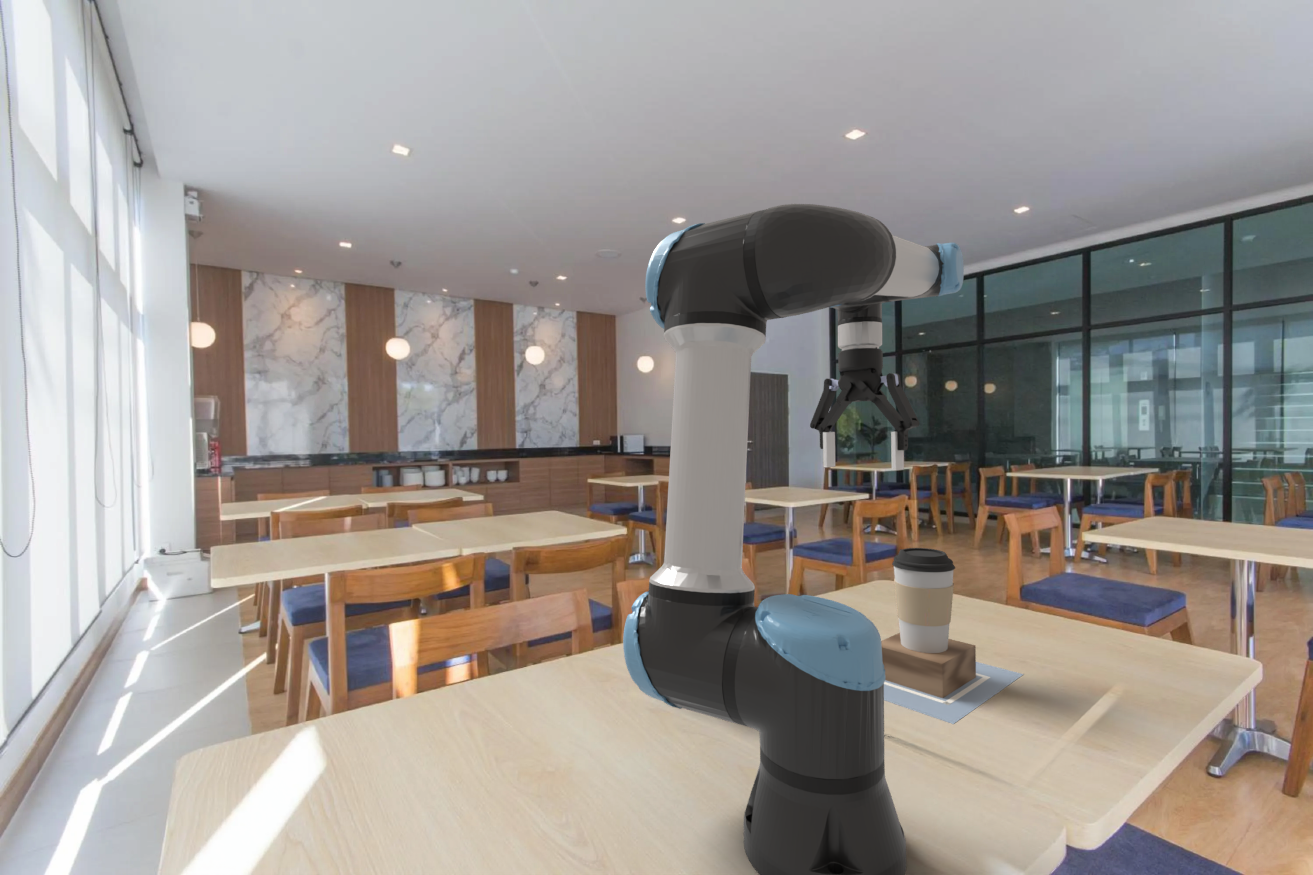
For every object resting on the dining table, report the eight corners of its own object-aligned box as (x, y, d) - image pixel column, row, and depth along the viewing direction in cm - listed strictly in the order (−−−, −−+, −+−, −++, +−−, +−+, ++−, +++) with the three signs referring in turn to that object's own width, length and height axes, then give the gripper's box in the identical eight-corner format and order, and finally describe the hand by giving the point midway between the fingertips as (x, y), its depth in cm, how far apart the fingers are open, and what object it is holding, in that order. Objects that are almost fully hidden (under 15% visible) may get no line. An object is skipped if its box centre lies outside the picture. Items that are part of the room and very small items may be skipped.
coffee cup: (944, 635, 102) (943, 543, 102) (965, 656, 93) (964, 555, 93) (886, 634, 103) (885, 543, 103) (902, 655, 94) (901, 555, 94)
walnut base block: (942, 698, 91) (942, 663, 91) (873, 676, 99) (872, 644, 99) (975, 677, 98) (975, 645, 98) (908, 658, 106) (908, 628, 106)
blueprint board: (953, 731, 83) (953, 723, 83) (824, 685, 98) (824, 678, 98) (1023, 680, 99) (1023, 673, 99) (903, 647, 114) (903, 641, 114)
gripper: (939, 342, 105) (941, 469, 105) (814, 357, 124) (816, 464, 124) (917, 339, 100) (919, 472, 100) (790, 355, 119) (792, 467, 120)
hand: (862, 468), depth 112 cm, fingers open, 13 cm apart
